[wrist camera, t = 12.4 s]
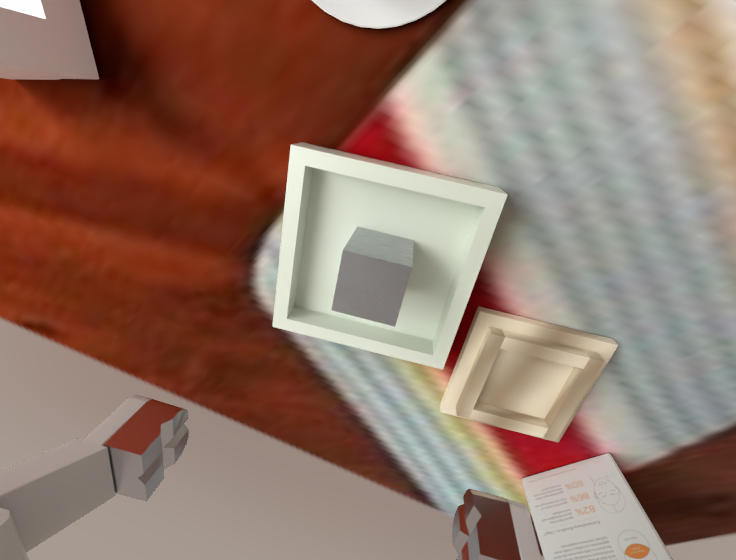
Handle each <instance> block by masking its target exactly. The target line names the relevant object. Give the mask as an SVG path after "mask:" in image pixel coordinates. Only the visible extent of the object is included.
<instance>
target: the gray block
mask: <svg viewBox="0 0 736 560" xmlns="http://www.w3.org/2000/svg"><path fill="white" fill-rule="evenodd" d="M413 247H414V240H411V239H407V238H403V237H399V236H394V235H390V234H386V233H382V232H378V231H374V230H370V229H366V228H362V227H358V226H357V228H356V229H355V231H354V233H353V234H352V236H351V238H350V239H349V241H348V242H347V244H346V246H345V247H344V249H343V252H342V257H341V262H340V267H339V273H338V278H337V283H336V288H335V294H334V299H333V304H332V309H331V310H332V311H336V312H340V313H343V314H347V315H351V316H355V317H359V318H363V319H367V320H371V321H375V322H379V323H383V324H387V325H390V326H394V327H395V326H396V322H397V319H398V315H399V312H400V308H401V305H402V301H403V298H404V294H405V291H406V287H407V284H408V280H409V277H410V273H411V270H412V264H413Z"/></svg>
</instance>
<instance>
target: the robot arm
mask: <svg viewBox="0 0 736 560" xmlns="http://www.w3.org/2000/svg"><path fill="white" fill-rule="evenodd" d="M187 419H188V411H187V410H186V409H183V408H179V407H176V406H173V405H170V404H166V403H163V402H160V401H156V400H154V399H150V398H146V397H143V396H140V395H134V396H132V397H129V398H128V399H127V400H126V401H125V402H124V403H123V404H121V406H119V407H118V408H117V409H116V410H115V411H114V412H113V413H112V414H111V415H109V416H108V417H107V418H106V419H105V420H104V421H103V422H102V423H101V424H100V425H99V426H98V427H96V428H95V429H94V430H93V431H92V432H91V433H90V434H89V435H88V436H87V437H86V438H84V439H83V440H82V439H75V440H73V441H70V442H68V443H66V444H63V445H61V446H59V447H56V448H53V449H51V450H48V451H46V452H44V453H41V454H39V455H36V456H34V457H32V458H29V459H26V460H24V461H22V462H19V463H17V464H15V465H12V466H9V467H7V468H5V469H2V470H0V560H29V558H28V556H27V554H26V552H28V551H29V550H31V549H32V548H34V547H35V546H37V545H39V544H40V543H42V542H43V541H45V540H46V539H48V538H50V537H51V536H53V535H54V534H56V533H57V532H59V531H61V530H62V529H64V528H65V527H67V526H69V525H70V524H72V523H73V522H75V521H76V520H78V519H80V518H81V517H83V516H84V515H86V514H87V513H89V512H90V511H92V510H94V509H95V508H97V507H98V506H100V505H101V504H103V503H105V502H106V501H108V500H109V499H111V498H112V497H114V496H115V495H116V494H115V493H117V494H120V495H124V496H128V497H132V498H135V499H139V500H143V501H147V500H148V499H149V498H150V496H151V495H152V494H153V492H154V491H155V490H156V488H157V487H158V486H159V484H160V483H161V482H162V480H163V479H164V469H166V468H167V467H169V466H171V465H173V464H175V463H176V461H177V460H178V458H179V457H180V456H181V454H182V452H183V450H184V448H185V446H186V444H187V440H188V428H187V427H186V426H185V424H184V423H185V422H186V420H187ZM463 497H464V504H463V505H460V506H458V508H457V510H456V513H455V515H454V520H453V529H452V538H453V539H452V540H453V546H454V548H455V549H456V551H457V553H458V557H457V559H456V560H541V556H540V552H539V548H538V545H537V541H536V537H535V533H534V530H533V526H532V522H531V518H530V515H529V511H528V508H527V507H526V505H525V504H522V503H519V502H515V501H511V500H508V499H505V498H503V497H499V496H495V495H491V494H488V493H484V492H480V491H476V490H472V489H468V490H467V491H466V493H465V494H464V496H463Z"/></svg>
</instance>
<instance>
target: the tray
mask: <svg viewBox="0 0 736 560" xmlns="http://www.w3.org/2000/svg"><path fill="white" fill-rule="evenodd" d="M507 195H508V194H506V193H505V192H504V191H503V190H502V189H500V188H499V187H495V186H491V185H486V184H482V183H478V182H473V181H469V180H465V179H460V178H456V177H452V176H447V175H443V174H439V173H434V172H430V171H425V170H421V169H417V168H412V167H408V166H404V165H399V164H395V163H391V162H386V161H382V160H378V159H373V158H369V157H364V156H360V155H356V154H351V153H347V152H343V151H338V150H334V149H330V148H325V147H321V146H317V145H312V144H308V143H298V144H292V145H291V148H290V158H289V168H288V177H287V187H286V197H285V207H284V217H283V227H282V237H281V247H280V257H279V267H278V277H277V287H276V297H275V307H274V317H273V327H276V328H280V329H284V330H288V331H292V332H296V333H300V334H304V335H308V336H312V337H316V338H320V339H323V340H327V341H331V342H335V343H339V344H343V345H347V346H351V347H355V348H359V349H363V350H367V351H371V352H375V353H379V354H383V355H387V356H391V357H395V358H399V359H403V360H407V361H411V362H415V363H419V364H422V365H426V366H430V367H434V368H438V369H442V370H443V368H444V365H445V362H446V360H447V357H448V354H449V352H450V349H451V346H452V343H453V341H454V338H455V335H456V333H457V330H458V327H459V325H460V322H461V319H462V316H463V314H464V311H465V308H466V306H467V303H468V300H469V298H470V295H471V292H472V290H473V287H474V284H475V281H476V279H477V276H478V273H479V271H480V268H481V265H482V263H483V260H484V257H485V254H486V252H487V249H488V246H489V244H490V241H491V238H492V236H493V233H494V230H495V228H496V225H497V222H498V219H499V217H500V214H501V211H502V209H503V206H504V203H505V201H506V198H507ZM357 226H358V227H362V228H366V229H370V230H374V231H378V232H382V233H386V234H390V235H394V236H399V237H403V238H407V239H411V240H414V247H413V264H412V270H411V273H410V277H409V280H408V284H407V287H406V291H405V294H404V298H403V301H402V305H401V308H400V312H399V315H398V319H397V322H396V326H395V327H394V326H390V325H387V324H383V323H379V322H375V321H371V320H367V319H363V318H359V317H355V316H351V315H347V314H343V313H340V312H336V311H332V310H331V309H332V304H333V299H334V294H335V288H336V283H337V278H338V273H339V267H340V262H341V257H342V252H343V249H344V247H345V246H346V244H347V242H348V241H349V239H350V238H351V236H352V234H353V233H354V231H355V229H356V228H357Z"/></svg>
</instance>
